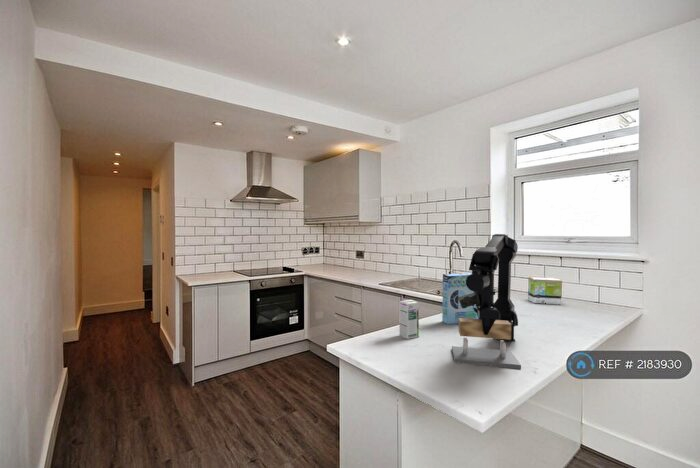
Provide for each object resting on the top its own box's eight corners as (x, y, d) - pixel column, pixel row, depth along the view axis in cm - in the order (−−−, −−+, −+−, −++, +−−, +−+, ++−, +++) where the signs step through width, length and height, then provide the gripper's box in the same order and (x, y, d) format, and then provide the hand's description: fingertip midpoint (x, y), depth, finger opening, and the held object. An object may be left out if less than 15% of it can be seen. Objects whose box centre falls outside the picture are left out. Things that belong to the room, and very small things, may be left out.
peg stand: (510, 354, 113) (510, 336, 113) (520, 368, 102) (521, 349, 102) (451, 349, 118) (451, 332, 118) (455, 362, 106) (455, 344, 106)
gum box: (476, 318, 158) (477, 272, 158) (483, 321, 153) (484, 274, 153) (441, 321, 153) (442, 273, 152) (447, 324, 148) (448, 275, 148)
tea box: (534, 303, 190) (534, 279, 190) (527, 300, 200) (527, 276, 200) (561, 304, 188) (562, 279, 188) (553, 301, 198) (554, 277, 197)
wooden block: (507, 335, 110) (507, 320, 110) (511, 339, 106) (511, 324, 106) (458, 331, 114) (458, 317, 113) (460, 335, 109) (460, 321, 109)
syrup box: (407, 339, 128) (407, 303, 128) (398, 335, 133) (399, 300, 133) (418, 337, 131) (419, 301, 130) (409, 333, 136) (410, 299, 136)
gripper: (457, 281, 120) (456, 322, 120) (463, 291, 102) (463, 339, 102) (488, 282, 118) (488, 325, 118) (501, 293, 99) (500, 342, 100)
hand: (484, 332), depth 110 cm, fingers closed on wooden block, 5 cm apart
